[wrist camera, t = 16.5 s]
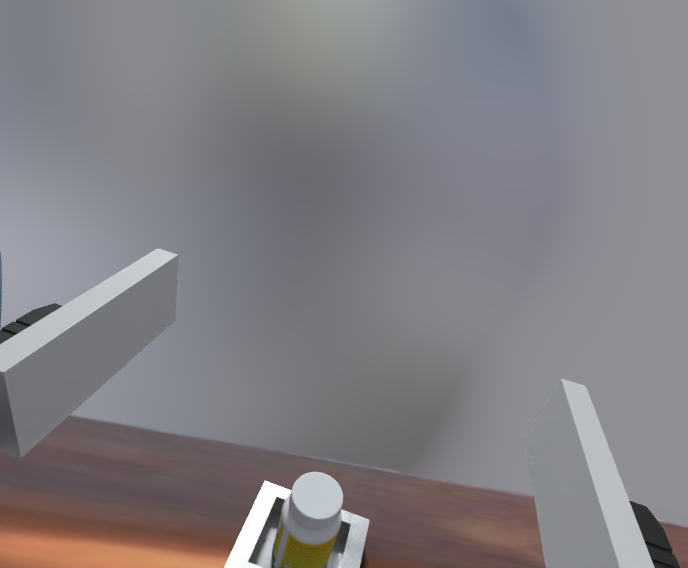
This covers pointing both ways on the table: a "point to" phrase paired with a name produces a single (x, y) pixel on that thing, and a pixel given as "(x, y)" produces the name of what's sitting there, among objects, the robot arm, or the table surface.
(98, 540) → the table surface
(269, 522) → the rectangular metal tray
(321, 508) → the supplement bottle
